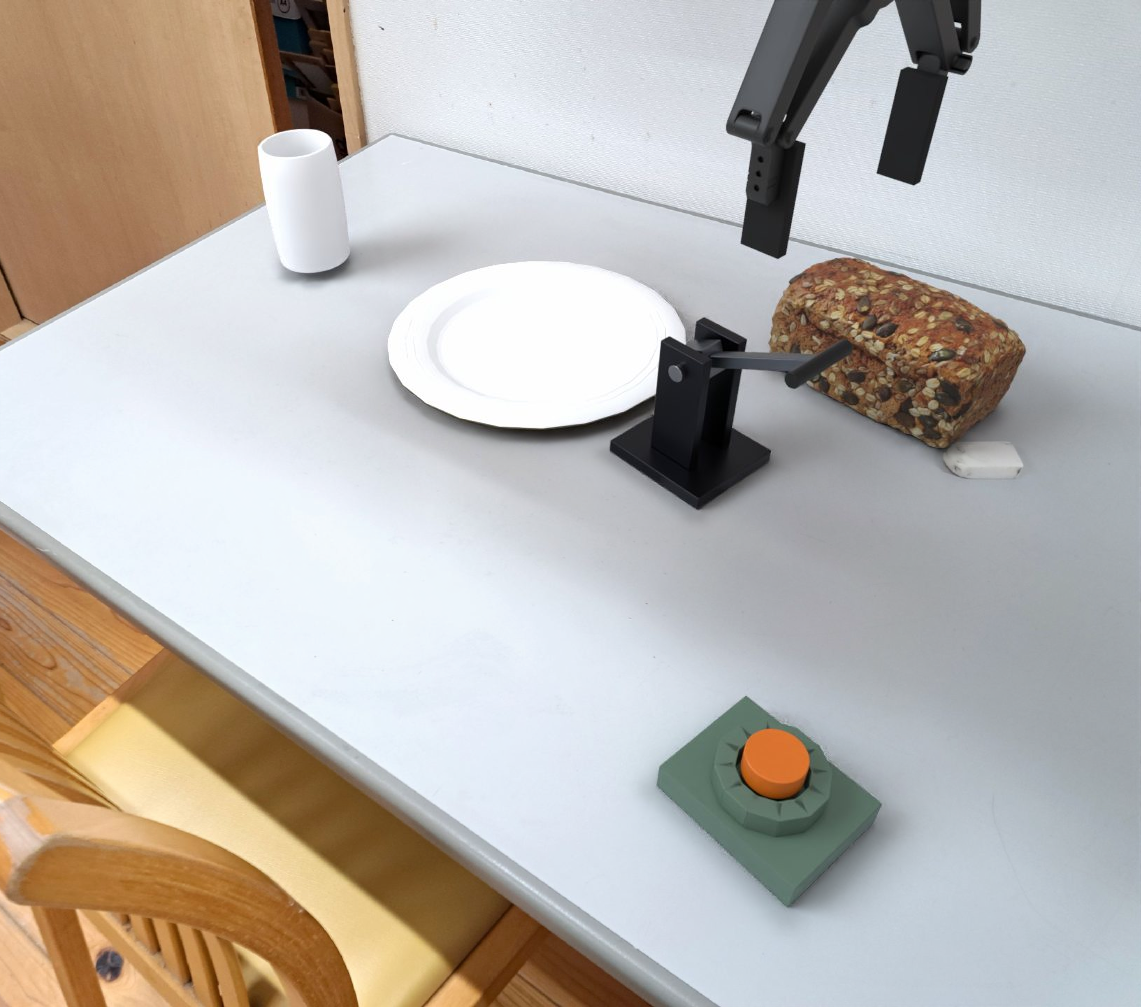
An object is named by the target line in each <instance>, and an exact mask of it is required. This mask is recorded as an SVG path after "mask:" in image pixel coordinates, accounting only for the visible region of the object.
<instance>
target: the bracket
mask: <svg viewBox="0 0 1141 1007" xmlns="http://www.w3.org/2000/svg"><path fill="white" fill-rule="evenodd" d="M694 339H699V340H721V344H722V348H723V351H730V352H746V349H747V343H748V338H746V337H744V336H742V335H740V334H739V333H736V332H734V331H733V330H730V329H728V328H727V327H725V326H723V325H720V324H719V323H717V322H715V321H713V320H711V319H709V318H707V317H705V316H703V317H701V318H700V319H698V320H696V321H695V327H694V335H693V340H694ZM711 365H712V359H711V358H709V357H707V356H705V355H703V354H701V353H700V352H698V351H696V350H694V349H692V348H690V347H689V346H687V345H685V344H683V343H681V342H679V341H678V340H676V339H674V338H672V337H670V336H668V337H667V338H665V339H663V340H661V344H660V355H659V365H658V376H657V386H656V395H655V396H654V397H655V398H654V407H653V408H654V409H653V415H651V416H649V417H647V418H645V419H644V420H642V421H641V422H638V423H637V424H636V425H634V426H632V427H631V428H629V429H627V430H626V431H624V432H622V433H620V434H619V435H617V436H615V437H613V438H612V439H610V440H609V451H610V452H611V453H612V454H614V455H616V456H617V457H618V458H619V459H621V460H623V461H624V462H626V463H627V464H629V466H632V467H633V468H634V469H636V470H637V471H639V472H640V473H642V474H643V475H645V476H646V477H648V478H649V479H651V480H652V481H654V482H655V483H657V484H658V485H660V486H661V487H663V489H664V488H665V489H666V490H667V491H669V492H670V493H671V494H673V495H675V496H676V497H677V498H679V499H681V500H682V501H684V502H685V503H686V504H688V505H689V506H690V507H692V508H694V509H695V510H699V509H700V508H702V507H704V506H705V505H706V504H708V503H709V502H711V501H713V500H714V499H716V498H717V497H718V496H720V495H722V494H723V493H724V492H726V491H727V490H728V489H730V488H732V487H733V486H735V485H736V484H738V483H739V482H741V481H742V480H743V479H745V478H747V477H749V476H750V475H751V474H753V473H754V472H756V471H757V470H759V469H760V468H762V467H763V466H764V465H766V464H768V463H769V462H770V460H771V456H772V450H771V449H770V448H768V447H766V446H765V445H763V444H761V443H759V442H758V441H756V440H754V439H753V438H751V437H750V436H747V435H746V434H744V433H742V432H741V431H739V430H737V429H736V428H734V427H733V426H734V420H735V415H736V414H735V413H736V408H737V401H738V396H739V391H740V386H741V385H740V384H741V378H742V372H743V369H727V368H726V369H725V370H723V371H721V372H720V373H718V374H716V375H714V376H713V377H711V378H710V372H711Z"/></svg>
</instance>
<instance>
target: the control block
mask: <svg viewBox="0 0 1141 1007" xmlns="http://www.w3.org/2000/svg"><path fill="white" fill-rule="evenodd" d="M764 729H778V730H782V731H785V732H788V733H790V734H792V735H793V736H795V737H796V738H797V739H799V740H800V741H801V742H802V743H803V745H804V746H805V748H806V750H807V752H808V754H809V758H810V766H809V769H808V772H807V775H806V778H805V781H804V784H803V786H802V788H801V789H800V790H799V792H797V793H796V794H795V795H793V796H791V797H788V798H784V799H772V798H768V797H765V796H762V795H760V794H758V793H757V792H755V791H754V790H753V789H752V788H751V787H750V786H749V785H748V784H747V783H746V781H745V780H744V778H743V776H742V773H741V760H742V756H743V752H744V748H745V744H746V742H747V740H748V739H749V738H750V737H751V736H752V735H753V734H754V733H756V732H758V731H760V730H764ZM656 786H657V787H658V788H659V789H660V790H661V791H662V792H663V793H664V794H665V795H666V796H668V797H669V798H670V799H671V800H672V801H673V802H674V803H675V804H676V805H677V806H678V807H679V808H681V810H682V811H683V812H685V813H686V815H688V816H689V817H690V818H691V819H692V820H693V821H694V822H695V823H697V824H698V825H699V827H701V829H703V830H704V831H705V832H706V833H707V834H708V835H709V836H710V837H711V838H713V839H714V841H715V842H717V843H718V844H719V845H720V846H721V847H722V848H723V849H724V850H725V851H727V853H728V854H730V855H731V856H732V857H733V858H734V859H735V860H736V861H737V862H738V863H740V865H741V866H743V868H745V869H746V871H748V872H749V873H750V874H751V875H752V876H753V877H754V878H755V879H757V880H758V882H760V884H761V885H763V886H764V887H765V888H766V889H767V890H769V891H770V893H771V894H773V895H774V897H776V898H777V899H778V900H779V901H780V902H781V903H782V904H783V905H784V906H786V907H787V908H789V907H790V906H791V905H792V904H793V903H794V902H795V901H796V900H798V898H799V897H800V896H801V895H802V894H804V892H805V891H807V889H808V888H809V887H810V886H812V884H813V883H814V882H815V881H816V880H818V879H819V877H821V875H822V874H823V873H824V872H826V870H827V869H828V868H829V867H830V866H831V865H832V864H834V863H835V862H836V860H838V859H839V858H840V857H841V855H843V854H844V853H845V852H846V851H847V850H848V849H849V848H850V847H851V846H852V845H853V844H854V843H855V842H856V841H857V840H858V839H859V838H860V837H861V836H862V835H863V834H864V833H865V832H866V831H867V830H868V829H869V828H870V827H871V826H872V825H873V824H875V821H876V819H877V816H878V814H879V812H880V810H881V808H882V805H883V803H882V802H881V801H880V800H879V799H877V797H875V796H873V795H872V794H871V793H870V792H869V791H867V790H866V789H864V788H863V787H862V786H861V785H860V784H859V783H857V782H855V780H853V779H852V778H851V777H849V776H848V775H847V774H846V773H845V772H843V771H842V770H841V769H839V767H837V766H836V765H834V764H833V763H832V762H830V761H829V760H828V759H827V757H826V755H825V753H824V751H823V749H822V747H821V746H820V744H818V743H817V742H815V740H813V739H812V738H810V737H809V735H806V734H805V733H804V732H803V731H801V730H800V729H799V728H797V727H795V726H793V725H789V724H785V723H782V722H780V721H779V720H778V719H776V717H774V716H773V715H771V714H770V713H769V712H767V710H766V709H764V708H763V707H762V706H760V705H759V704H758V703H756V702H755V701H754V700H753V699H752V698H750V697H749V696H748V695H745V696H743V697H742V698H741V699H739V700H738V701H737V702H736V703H735V704H734V705H733V706H731V707H730V708H729V709H728V710H726V711H725V712H724V713H722V714H721V715H720V716H718V718H716V719H715V720H714V721H713V722H711V724H709V725H708V726H707V727H706V728H704V729H703V730H702V731H700V732H699V733H698V734H697V735H696V736H694V737H693V738H692V739H691V740H689V741H688V742H687V743H686V744H684V745H683V746H682V747H681V748H680V749H679V750H677V751H676V752H675V753H674V754H672V755H671V756H670V757H668V758H667V759H666V760H665V761H663V763H662V764H660V765H659V767H658V773H657V779H656Z"/></svg>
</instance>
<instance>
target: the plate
mask: <svg viewBox="0 0 1141 1007" xmlns="http://www.w3.org/2000/svg"><path fill="white" fill-rule="evenodd" d="M668 336H670V337H672V338H674V339H676V340H678V341H679V342H681V343H683V344H687V338H686V328H685V326H684V324H683V322H682V320H681V318H680V316H679V315H678V313H677V311H676V309H675V307H673V306H672V305H671V304H670V303H669V302H668V301H667V300H665V298H663V297H662V296H661V295H660V294H659V293H658V292H657V291H656V290H654V289H652V288H651V287H649V286H647V285H645V284H643V283H641V282H639V281H637V280H636V279H634V278H633V277H630V276H628V275H624V274H621V273H619V272H615V271H612V270H609V269H605V268H602V267H599V266H595V265H588V264H582V263H575V262H570V261H569V262H568V261H553V260H552V261H550V260H549V261H548V260H527V261H517V262H507V263H500V264H492V265H489V266H485V267H481V268H477V269H473V270H469V271H466V272H461V273H460V274H458V275H455V276H453V277H450V278H449V279H446V280H444V281H441V282H440V283H437V284H434V285H432V286H431V287H430V288H428V289H427V290H425V291H424V292H423V293H421V294H420V295H418V296H417V297H416V298H414V299H412V300H411V301H410V302H409V303H408V304H407V306H406V307H405V308H404V309H403V310H402V311H401V312H400V314H399V315H398V316H397V317H396V318H395V319H394V322H393V325H392V327H391V330H390V333H389V336H388V338H387V350H388V361H389V365H390V367H391V369H392V370H393V373H394V374H395V376H396V377H397V378H398V380H399V382H400V384H401V385H402V387H404V389H406V390H407V391H408V392H410V393H411V394H412V395H414V396H415V397H416V398H417V399H419V401H421V402H422V403H424V404H425V405H426V406H428V407H430V408H433V409H436V410H438V411H440V412H442V413H444V414H446V415H449V416H451V417H454V418H456V419H458V420H461V421H465V422H471V423H474V424H480V425H484V426H488V427H493V428H498V429H512V430H513V429H514V430H536V431H546V430H552V429H563V428H570V427H577V426H586V425H589V424H594V423H596V422H599V421H602V420H606V419H609V418H611V417H616V416H619V415H623V414H625V413H627V412H629V411H630V410H632V409H634V408H636V407H637V406H640V405H641V404H643V403H645V402H647V401H648V400H650V399H652V398H653V397H655V396H656V386H657V376H658V365H659V355H660V344H661V340H663V339H665V338H667V337H668Z"/></svg>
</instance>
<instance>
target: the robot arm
mask: <svg viewBox="0 0 1141 1007" xmlns="http://www.w3.org/2000/svg"><path fill="white" fill-rule="evenodd" d="M893 2H894V3H895V7H896V10H897V13H898V17H899V21H900V25H901V28H902V32H903V35H904V39H905V42H906V46H907V49H908V53H909V56H910V60H911V62H912V64H913V65H916V68H915V67H911V66H906V67H904V68H902V69H900V71H899V75H898V78H897V82H896V83H897V84H896V88H895V92H894V96H893V100H892V104H891V109H890V113H889V117H888V122H887V126H886V131H885V135H884V139H883V143H882V148H881V152H880V156H879V160H878V164H877V169H876V174H877V175H880V176H883V177H886V178H889V179H891V180H895V181H898V182H901V183H903V184H904V183H905V184H907V185H910V186H913V187H914V186H916V185H918V184H920V183H921V182H922V178H923V174H924V170H925V166H926V164H927V163H926V162H927V159H928V156H929V152H930V149H931V144H932V140H933V137H934V133H935V129H936V125H937V122H938V118H939V114H940V111H941V107H942V102H943V99H944V96H945V91H946V88H947V85H948V80H949V76H948V75H949V73H951V74H954V75H958V76H965V75H966V74H967V73H968V72H969V70H970V68H971V66H972V63H973V58H974V57H973V56H974V55H972V54H973V53H974V52H975V50H976V49H977V48H978V46H979V44H980V41H981V30H982V28H981V27H982V0H773V3H772V6H771V8H770V10H769V13H768V16H767V18H766V20H765V23H764V26H763V28H762V31H761V34H760V35H759V39H758V42H757V43H756V46H755V48H754V50H753V51H754V52H753V53H752V55H751V59H750V62H749V64H748V66H747V69H746V72H745V74H744V76H743V79H742V82H741V84H740V87H739V89H738V92H737V95H736V97H735V100H734V102H733V104H732V107H731V110H730V112H729V114H728V118H727V120H726V124H725V131H726V134H728V135H729V136H733V137H736V138H739V139H742V140H744V141H748V142H750V143H751V149H750V157H749V164H748V171H747V178H746V180H747V181H746V185H745V195H746V196H745V197H746V201H745V209H744V216H743V222H742V230H741V236H740V245H742V246H745V247H747V248H750V249H752V250H755V251H757V252H759V253H761V254H765V255H767V256H769V257H771V258H774V259H776V260H780V259H781V258H783V257H786V256H787V253H788V252H787V251H788V247H789V241H790V235H791V230H792V224H793V220H794V213H795V207H796V201H797V195H798V190H799V184H800V181H801V180H800V179H801V173H802V167H803V163H804V157H805V151H806V146H807V143H806V142H804V141H801V140H797V139H798V137H799V135H800V133H801V132H802V130H803V128H804V126H805V124H806V123H807V121H808V119H809V117H810V116H811V114H812V112H813V110H814V109H815V107H816V105H817V104H818V102H819V100H820V98H821V96H822V94H823V93H824V91H825V89H826V87H827V86H828V84H829V82H830V81H831V78H832V77H833V76H834V73H835V72H836V70H837V68H838V66H839V65H840V64H841V61H842V59H843V57H844V56H845V54H846V52H847V51H848V48H849V47H850V45H851V43H852V41H853V40H854V39H855V37H856V35H857V33H858V32H859V31H860V29H862V28H864V27H867V26H869V25H870V24H872V22H873V21H874V20H875V18H876V16H877V15H878V13H879V11H880V10H882V9H883V8H886V7H888V6H889V5H890V4H892V3H893ZM955 23H956V24H960V27H958V26H956V24H955Z"/></svg>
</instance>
